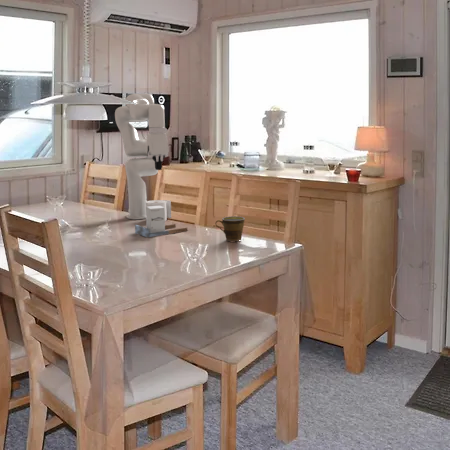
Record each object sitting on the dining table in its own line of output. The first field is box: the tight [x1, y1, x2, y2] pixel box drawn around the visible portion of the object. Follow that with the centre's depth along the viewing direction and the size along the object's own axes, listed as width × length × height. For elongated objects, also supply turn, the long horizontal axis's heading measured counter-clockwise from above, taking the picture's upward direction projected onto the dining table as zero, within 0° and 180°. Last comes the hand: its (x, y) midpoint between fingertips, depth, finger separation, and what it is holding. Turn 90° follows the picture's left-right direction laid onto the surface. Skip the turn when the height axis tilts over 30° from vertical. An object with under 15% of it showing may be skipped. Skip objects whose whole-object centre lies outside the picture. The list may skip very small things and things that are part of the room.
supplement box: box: [145, 206, 166, 233], centre depth 292 cm, size 7×7×13 cm
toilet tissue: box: [146, 199, 172, 222], centre depth 323 cm, size 11×12×10 cm
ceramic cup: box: [215, 216, 245, 242], centre depth 274 cm, size 13×10×10 cm
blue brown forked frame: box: [134, 223, 189, 238], centre depth 295 cm, size 12×22×4 cm, turn 126°
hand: (158, 169), depth 296 cm, fingers closed
